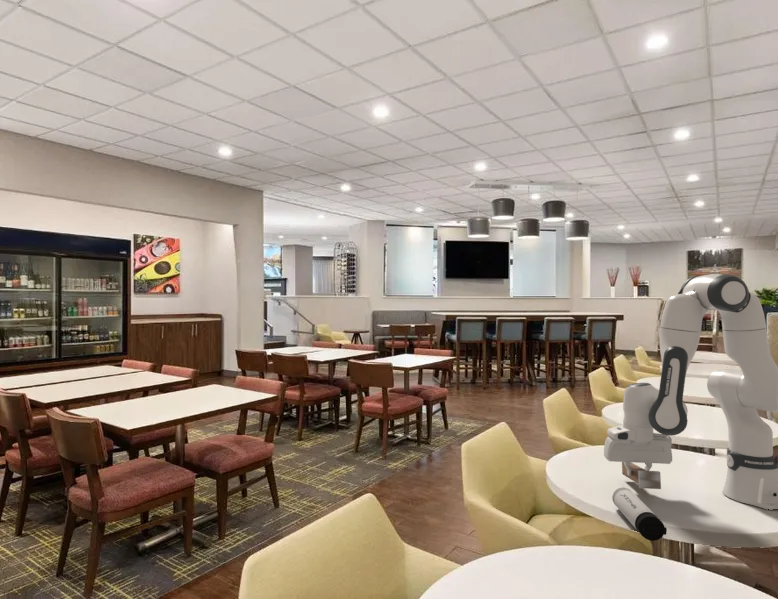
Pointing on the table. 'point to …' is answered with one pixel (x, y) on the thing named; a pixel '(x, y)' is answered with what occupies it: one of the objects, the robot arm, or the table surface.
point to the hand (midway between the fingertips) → (637, 475)
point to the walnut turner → (643, 477)
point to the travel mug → (639, 514)
